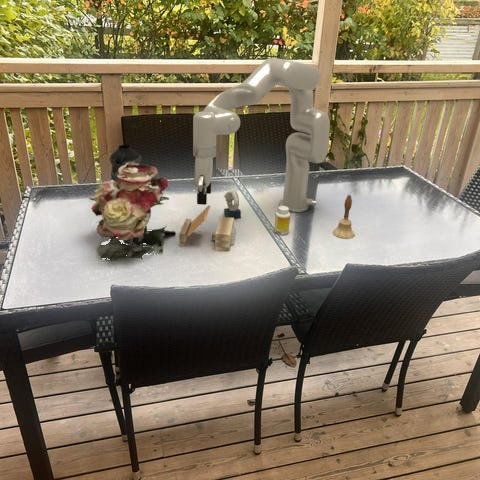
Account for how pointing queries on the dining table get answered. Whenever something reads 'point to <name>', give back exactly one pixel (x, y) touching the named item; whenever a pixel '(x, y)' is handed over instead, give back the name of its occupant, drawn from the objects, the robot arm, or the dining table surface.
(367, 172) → the dining table surface
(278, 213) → the supplement bottle
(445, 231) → the dining table surface
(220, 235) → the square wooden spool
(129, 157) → the beer stein
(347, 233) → the hand bell
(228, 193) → the watch
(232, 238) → the pin
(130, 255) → the rose bouquet
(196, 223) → the flap
